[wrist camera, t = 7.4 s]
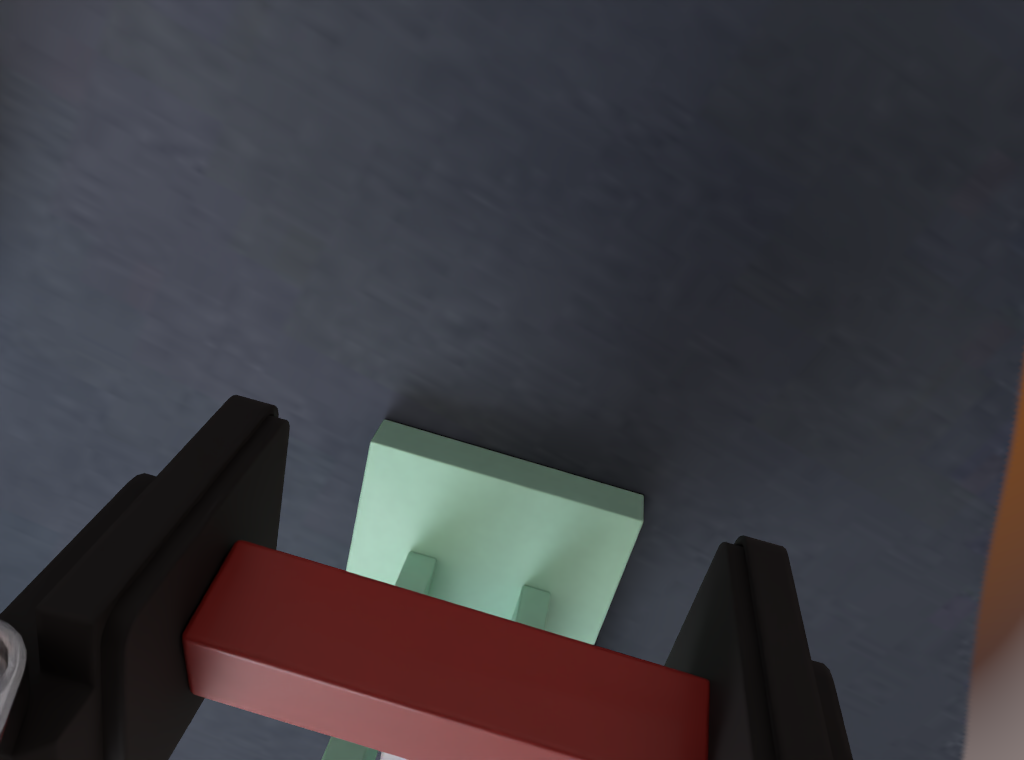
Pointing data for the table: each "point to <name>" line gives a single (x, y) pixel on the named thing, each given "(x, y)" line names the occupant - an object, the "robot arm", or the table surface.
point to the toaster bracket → (489, 536)
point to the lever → (426, 671)
